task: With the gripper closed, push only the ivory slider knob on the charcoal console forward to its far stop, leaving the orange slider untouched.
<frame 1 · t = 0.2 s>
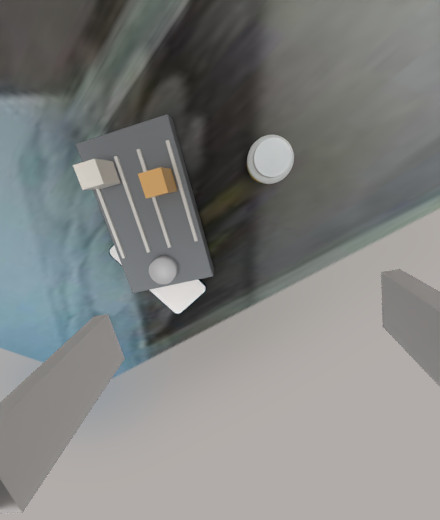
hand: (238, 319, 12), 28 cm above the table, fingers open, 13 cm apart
supplement bottle: (265, 163, 36), on the table
smartphone: (159, 268, 42), on the table
console: (153, 211, 39), on the table
slider orange: (159, 183, 33), point 5 cm above the table, slide at 3.0 cm
slider ivory: (98, 174, 33), point 5 cm above the table, slide at 0.0 cm
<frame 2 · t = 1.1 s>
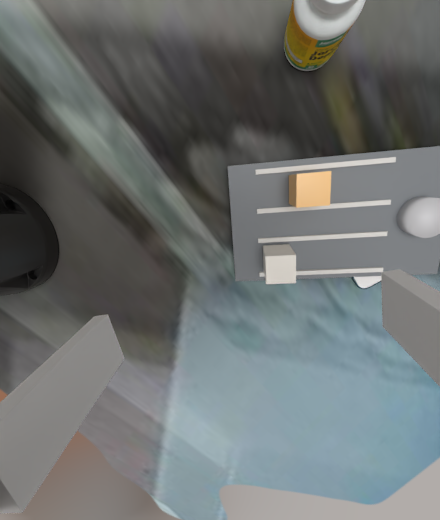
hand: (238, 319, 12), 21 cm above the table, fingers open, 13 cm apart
supplement bottle: (309, 43, 26), on the table
console: (327, 218, 30), on the table
slider orange: (307, 189, 25), point 5 cm above the table, slide at 3.0 cm
slider ivory: (278, 263, 27), point 5 cm above the table, slide at 0.0 cm
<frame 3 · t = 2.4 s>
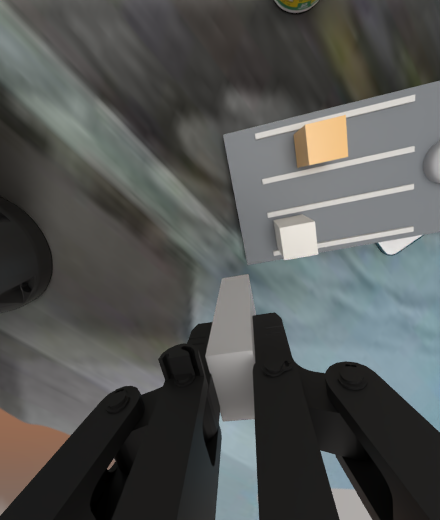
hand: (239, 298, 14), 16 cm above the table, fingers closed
smartphone: (431, 183, 27), on the table
console: (341, 180, 27), on the table
slider orange: (318, 144, 22), point 5 cm above the table, slide at 3.0 cm
slider ivory: (294, 235, 24), point 5 cm above the table, slide at 0.0 cm
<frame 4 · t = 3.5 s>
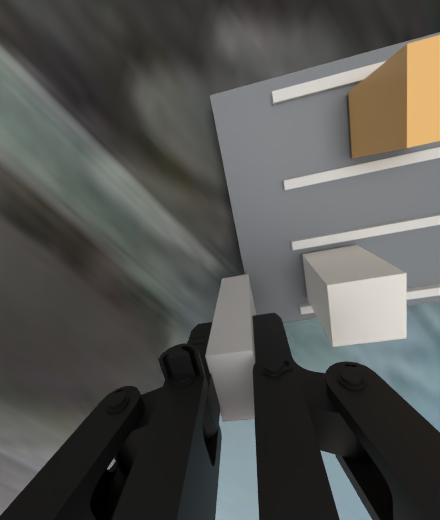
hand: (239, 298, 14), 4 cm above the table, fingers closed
console: (421, 182, 15), on the table
slider orange: (412, 106, 10), point 5 cm above the table, slide at 3.0 cm
slider ivory: (346, 289, 13), point 5 cm above the table, slide at 0.0 cm
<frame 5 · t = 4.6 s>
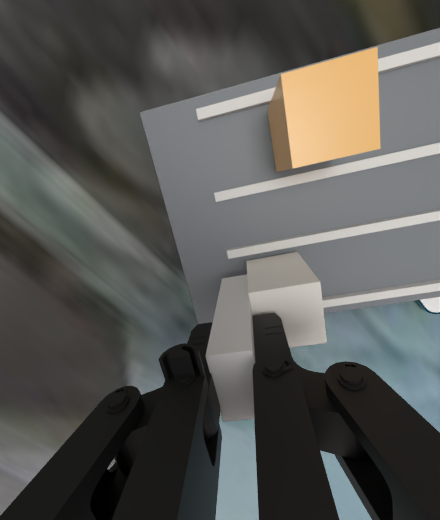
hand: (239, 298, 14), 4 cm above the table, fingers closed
console: (355, 192, 16), on the table
slider orange: (313, 125, 11), point 5 cm above the table, slide at 3.0 cm
slider ivory: (280, 295, 13), point 5 cm above the table, slide at 0.5 cm, touching gripper
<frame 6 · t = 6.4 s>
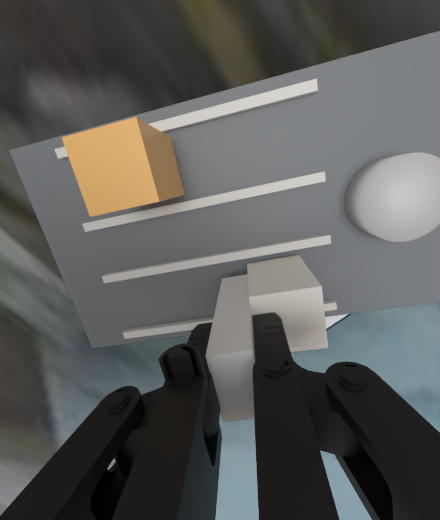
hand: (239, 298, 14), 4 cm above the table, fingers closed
console: (230, 220, 17), on the table
slider orange: (135, 172, 12), point 5 cm above the table, slide at 3.0 cm
slider ivory: (281, 299, 13), point 5 cm above the table, slide at 8.7 cm, touching gripper
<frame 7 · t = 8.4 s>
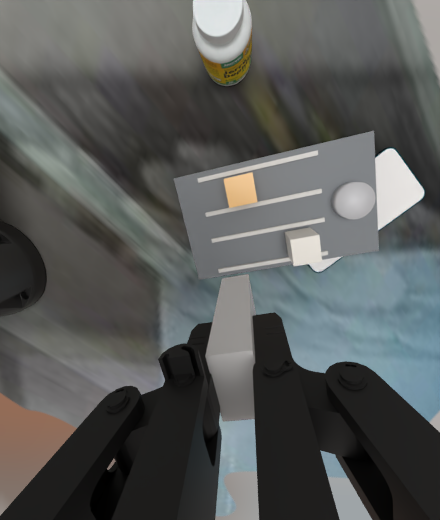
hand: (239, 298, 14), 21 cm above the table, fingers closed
supplement bottle: (228, 61, 29), on the table
smartphone: (348, 214, 33), on the table
console: (274, 212, 33), on the table
slider orange: (241, 189, 28), point 5 cm above the table, slide at 3.0 cm
slider ivory: (302, 245, 29), point 5 cm above the table, slide at 8.7 cm
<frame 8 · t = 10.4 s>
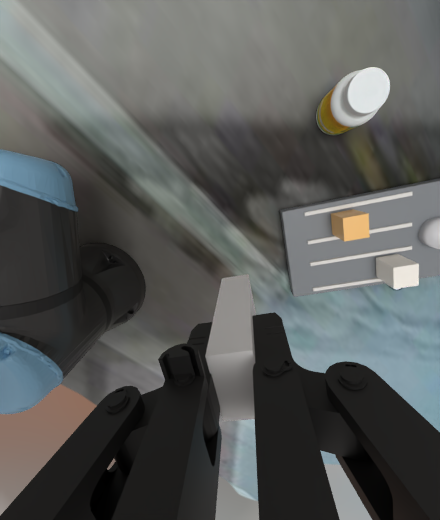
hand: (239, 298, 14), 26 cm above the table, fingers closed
supplement bottle: (334, 114, 34), on the table
console: (361, 239, 38), on the table
slider orange: (349, 224, 33), point 5 cm above the table, slide at 3.0 cm
slider ivory: (395, 270, 34), point 5 cm above the table, slide at 8.7 cm
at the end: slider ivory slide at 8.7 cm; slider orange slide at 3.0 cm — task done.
